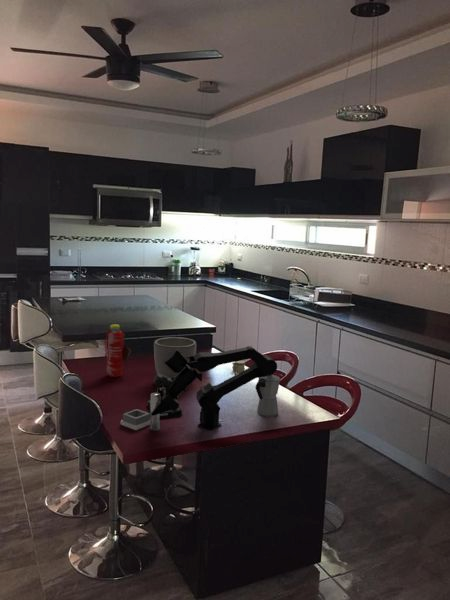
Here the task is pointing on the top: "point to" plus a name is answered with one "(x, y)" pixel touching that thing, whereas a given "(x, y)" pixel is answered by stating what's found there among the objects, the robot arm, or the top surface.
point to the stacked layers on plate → (238, 366)
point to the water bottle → (115, 351)
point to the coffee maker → (267, 395)
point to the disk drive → (168, 412)
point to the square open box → (136, 419)
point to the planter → (169, 345)
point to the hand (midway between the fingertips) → (151, 411)
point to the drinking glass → (156, 418)
